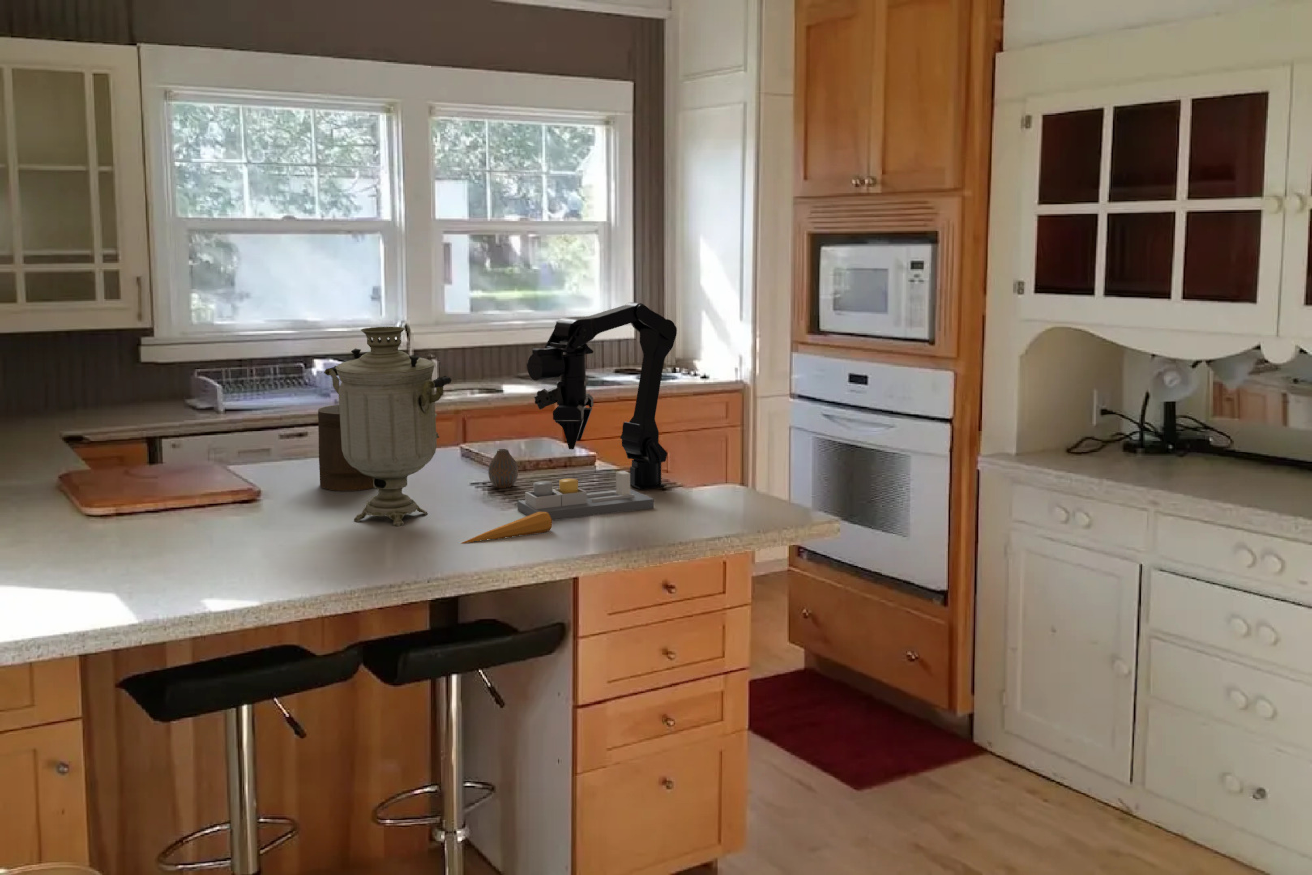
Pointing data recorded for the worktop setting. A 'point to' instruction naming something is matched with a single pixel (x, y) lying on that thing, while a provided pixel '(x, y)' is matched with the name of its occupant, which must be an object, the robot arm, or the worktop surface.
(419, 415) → the samovar
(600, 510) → the panel
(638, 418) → the robot arm
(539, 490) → the grey button
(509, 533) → the carrot
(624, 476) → the slider paddle
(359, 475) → the wooden container
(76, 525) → the worktop surface
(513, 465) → the vase
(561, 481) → the amber button
